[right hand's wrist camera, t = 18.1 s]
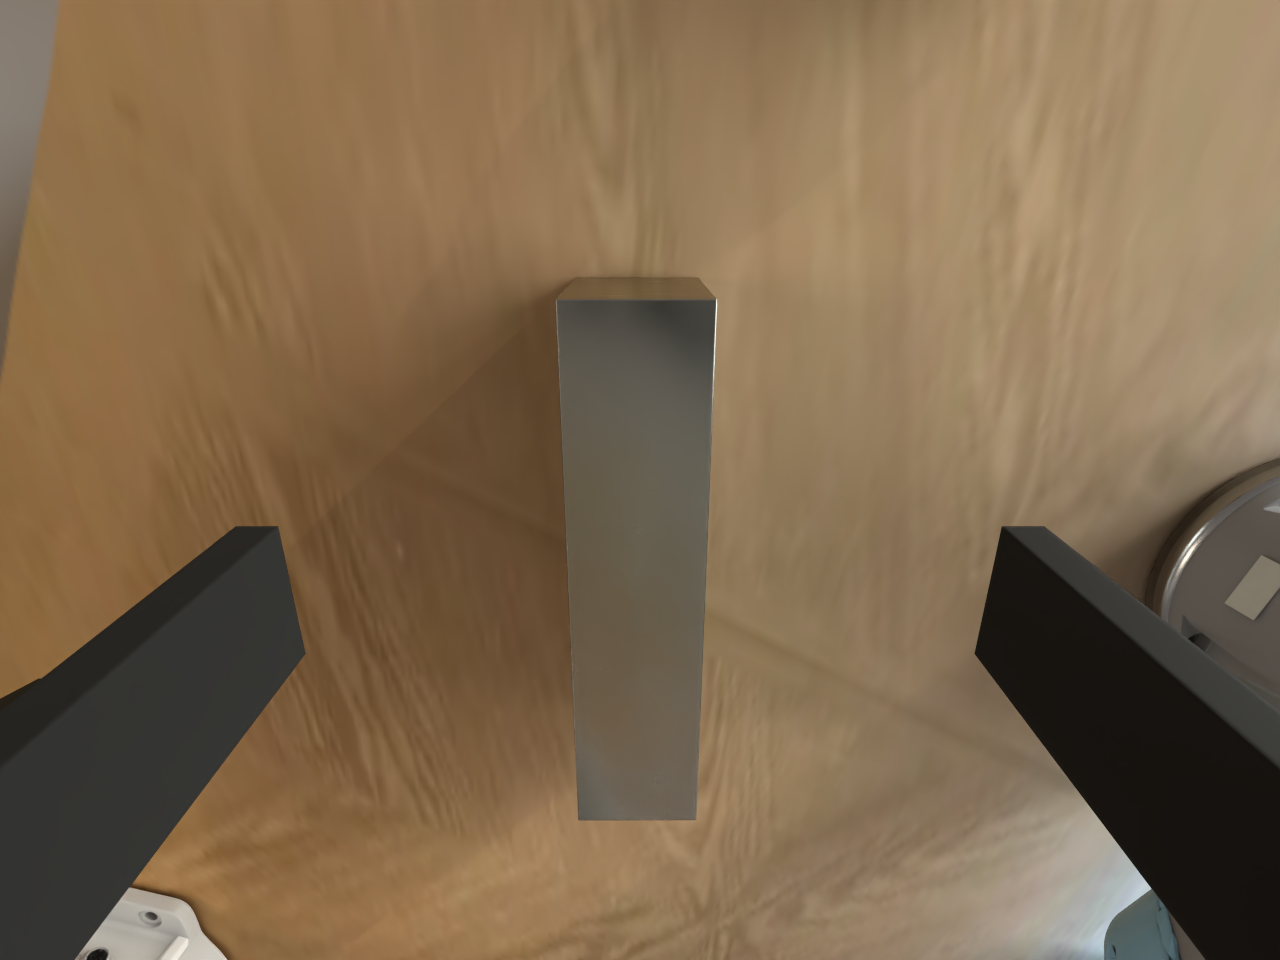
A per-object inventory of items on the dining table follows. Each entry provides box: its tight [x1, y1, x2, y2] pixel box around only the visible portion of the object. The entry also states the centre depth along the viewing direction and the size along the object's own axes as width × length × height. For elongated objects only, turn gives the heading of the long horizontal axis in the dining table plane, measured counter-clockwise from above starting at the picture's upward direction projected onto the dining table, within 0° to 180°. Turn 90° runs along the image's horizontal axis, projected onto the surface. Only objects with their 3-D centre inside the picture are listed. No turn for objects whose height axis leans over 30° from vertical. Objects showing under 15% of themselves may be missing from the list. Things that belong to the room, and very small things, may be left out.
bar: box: [555, 278, 717, 820], centre depth 34 cm, size 26×6×8 cm, turn 0°
